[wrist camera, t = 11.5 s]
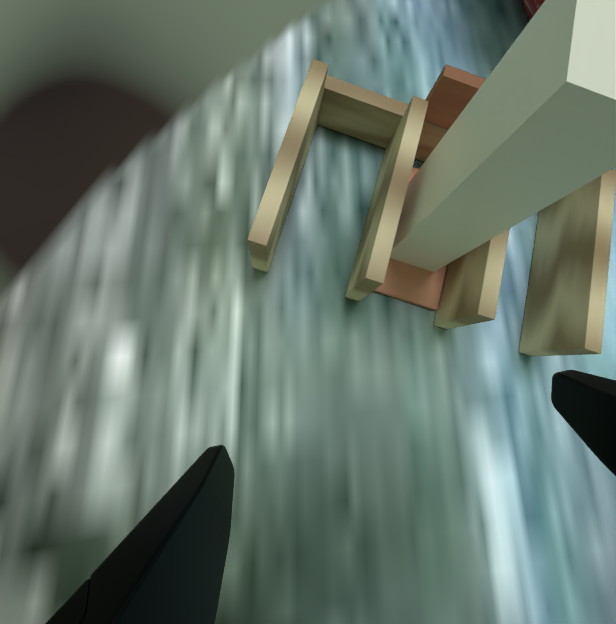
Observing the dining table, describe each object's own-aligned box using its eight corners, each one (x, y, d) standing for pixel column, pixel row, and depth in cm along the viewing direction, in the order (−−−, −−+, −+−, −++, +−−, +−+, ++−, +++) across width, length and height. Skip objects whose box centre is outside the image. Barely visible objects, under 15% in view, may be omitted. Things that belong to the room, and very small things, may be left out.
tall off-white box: (433, 272, 21) (686, 126, 8) (385, 256, 21) (566, 81, 8) (446, 209, 22) (689, -8, 9) (400, 193, 22) (583, -51, 9)
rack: (531, 356, 21) (633, 352, 15) (252, 267, 20) (244, 226, 14) (553, 195, 24) (646, 139, 18) (308, 109, 22) (321, 17, 16)
